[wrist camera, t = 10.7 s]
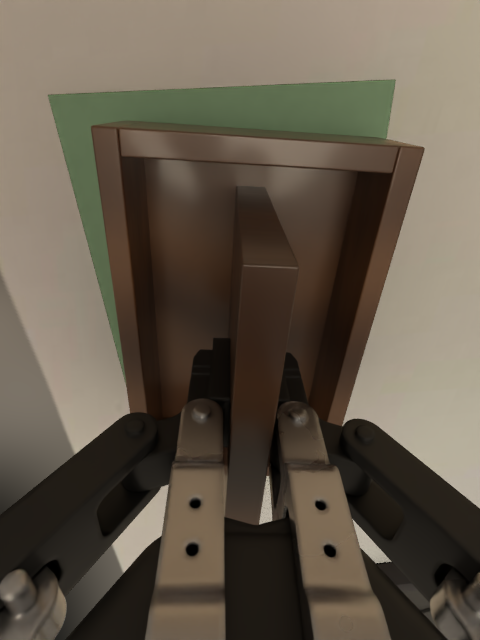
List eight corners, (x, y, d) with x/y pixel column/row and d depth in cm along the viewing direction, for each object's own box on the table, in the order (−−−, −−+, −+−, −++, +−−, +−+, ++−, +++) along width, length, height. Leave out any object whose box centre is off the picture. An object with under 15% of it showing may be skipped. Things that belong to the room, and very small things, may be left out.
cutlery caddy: (124, 120, 14) (-13, 139, 6) (378, 137, 14) (556, 175, 6) (152, 416, 22) (110, 585, 14) (312, 420, 22) (354, 585, 15)
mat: (49, 94, 14) (47, 95, 14) (394, 79, 14) (395, 79, 14) (150, 469, 27) (149, 471, 27) (334, 461, 27) (335, 463, 27)
